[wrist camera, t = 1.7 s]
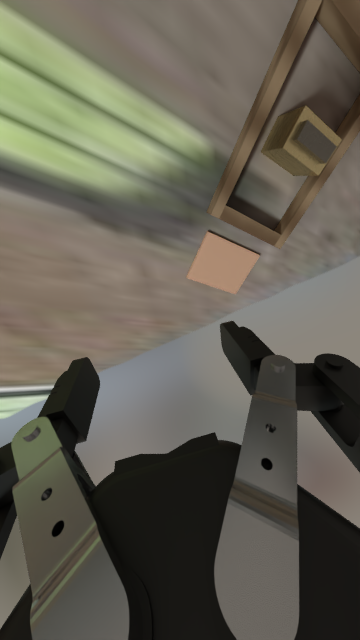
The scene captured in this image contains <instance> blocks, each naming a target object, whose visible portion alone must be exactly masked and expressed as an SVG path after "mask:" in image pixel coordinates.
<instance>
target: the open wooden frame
mask: <svg viewBox="0 0 360 640" xmlns="http://www.w3.org/2000/svg"><path fill="white" fill-rule="evenodd" d="M314 17H315V18H316V19H317V20H318V22H319V23H320V24H321V25H322V27H323V28H324V29H325V30H326V32H327V33H328V34H329V35H330V37H331V38H332V39H333V40H334V42H335V43H336V44H337V45H338V47H339V48H340V49H341V50H342V51H343V53H344V54H345V55H346V56H347V58H348V59H349V60H350V61H351V63H352V64H353V65H354V66H355V68H356V69H357V70H358V71H359V73H360V0H298V2H297V5H296V7H295V9H294V11H293V14H292V16H291V18H290V21H289V23H288V25H287V28H286V30H285V32H284V35H283V37H282V39H281V41H280V44H279V46H278V48H277V51H276V53H275V55H274V58H273V60H272V62H271V64H270V67H269V69H268V71H267V74H266V76H265V78H264V81H263V83H262V85H261V88H260V90H259V92H258V94H257V97H256V99H255V101H254V104H253V106H252V108H251V111H250V113H249V115H248V118H247V120H246V122H245V124H244V127H243V129H242V131H241V134H240V136H239V138H238V141H237V143H236V145H235V147H234V150H233V152H232V154H231V157H230V159H229V161H228V164H227V166H226V168H225V171H224V173H223V175H222V177H221V180H220V182H219V184H218V187H217V189H216V191H215V194H214V196H213V198H212V201H211V203H210V205H209V207H208V210H207V213H209V214H211V215H213V216H215V217H217V218H219V219H221V220H223V221H225V222H227V223H229V224H231V225H233V226H235V227H237V228H239V229H241V230H243V231H245V232H247V233H249V234H251V235H253V236H255V237H257V238H259V239H261V240H263V241H265V242H267V243H269V244H271V245H273V246H275V247H277V248H279V249H281V247H282V246H283V244H284V243H285V241H286V240H287V238H288V237H289V235H290V234H291V232H292V231H293V229H294V228H295V226H296V225H297V223H298V222H299V220H300V219H301V217H302V216H303V214H304V213H305V211H306V210H307V208H308V207H309V205H310V204H311V203H312V201H313V200H314V198H315V197H316V195H317V194H318V192H319V191H320V189H321V188H322V186H323V185H324V183H325V182H326V180H327V179H328V177H329V176H330V174H331V173H332V171H333V170H334V168H335V167H336V165H337V164H338V162H339V161H340V159H341V158H342V156H343V155H344V153H345V152H346V151H347V149H348V148H349V146H350V145H351V143H352V142H353V140H354V139H355V137H356V136H357V134H358V133H359V131H360V94H359V96H358V98H357V99H356V101H355V102H354V104H353V106H352V107H351V109H350V110H349V112H348V114H347V115H346V117H345V118H344V120H343V122H342V123H341V125H340V126H339V128H338V129H337V131H336V133H335V134H336V135H337V136H338V137H340V138H341V139H342V140H341V142H340V144H339V145H338V147H337V148H336V150H335V151H334V153H333V154H332V156H331V157H330V159H329V160H328V162H327V164H326V165H325V167H324V168H323V170H322V171H321V173H320V174H319V176H308V177H307V179H306V181H305V182H304V184H303V185H302V187H301V189H300V190H299V192H298V193H297V195H296V197H295V198H294V200H293V201H292V203H291V205H290V206H289V208H288V209H287V211H286V212H285V214H284V216H283V217H282V219H281V220H280V222H279V224H278V225H277V227H276V228H275V230H274V231H273V230H271V229H269V228H267V227H265V226H263V225H262V224H260V223H258V222H256V221H254V220H252V219H250V218H249V217H247V216H245V215H243V214H241V213H239V212H237V211H236V210H234V209H232V208H230V207H228V206H226V203H227V201H228V199H229V197H230V195H231V193H232V190H233V188H234V186H235V184H236V182H237V180H238V178H239V176H240V173H241V171H242V169H243V167H244V165H245V163H246V161H247V159H248V157H249V154H250V152H251V150H252V148H253V146H254V144H255V142H256V140H257V137H258V135H259V133H260V131H261V129H262V127H263V125H264V123H265V121H266V118H267V116H268V114H269V112H270V110H271V108H272V106H273V104H274V101H275V99H276V97H277V95H278V93H279V91H280V89H281V87H282V85H283V82H284V80H285V78H286V76H287V74H288V72H289V70H290V68H291V65H292V63H293V61H294V59H295V57H296V55H297V53H298V51H299V49H300V46H301V44H302V42H303V40H304V38H305V36H306V34H307V32H308V29H309V27H310V25H311V23H312V21H313V19H314Z"/></svg>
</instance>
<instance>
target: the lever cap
mask: <svg viewBox="0 0 360 640" xmlns="http://www.w3.org/2000/svg"><path fill="white" fill-rule="evenodd" d="M341 140H342V139H341V138H340V137H338V136H337V135H336V134H335V133H334V132H333V131H332V130H331V129H330V128H329V127H328V126H327V125H326V124H325V123H324V122H323V121H322V120H321V119H320V118H319V117H317V116H316V115H315V114H314V113H313V112H312V111H311V110H310V109H309V108H308V107H307V106H306V105H305V106H303V107H300V108H298V109H295V110H293V111H291V112H288V113H286V114H283V115H281V116H278V118H277V120H276V122H275V124H274V126H273V128H272V130H271V132H270V134H269V136H268V138H267V140H266V142H265V144H264V146H263V148H262V150H261V153H263V154H264V155H265V156H267V157H268V158H270V159H271V160H272V161H274V162H275V163H277V164H278V165H279V166H281V167H282V168H283V169H285V170H286V171H288V172H289V173H290V174H292V175H293V176H319V174H320V173H321V171H322V170H323V168H324V167H325V165H326V164H327V162H328V160H329V159H330V157H331V156H332V154H333V153H334V151H335V150H336V148H337V147H338V145H339V144H340V142H341Z"/></svg>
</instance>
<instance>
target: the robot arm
mask: <svg viewBox="0 0 360 640" xmlns="http://www.w3.org/2000/svg"><path fill="white" fill-rule="evenodd" d="M220 332H221V341H222V342H221V343H222V348H223V351H224V354H225V355H226V357H227V358H228V360H229V362H230V363H231V365H232V367H233V368H234V370H235V371H236V373H237V375H238V376H239V378H240V379H241V381H242V383H243V384H244V386H245V388H246V389H247V391H248V392H249V394H250V395H253V396H252V400H251V405H250V409H249V414H248V419H247V423H246V428H245V432H244V437H243V442H242V445H239V444H237V443H234V442H230V441H224V440H217V437H216V434H215V433H211V434H208V435H204V436H201V437H197V438H194V439H191V440H189V441H187V442H186V443H184V444H182V445H181V446H179V447H178V448H176V449H174V450H173V451H171V452H169V453H167V454H139V455H135V456H132V457H129V458H125V459H122V460H118V461H115V469H114V472H112V473H111V474H110V475H108V476H107V477H106V478H104V479H103V480H102V481H101V482H100V483H99V484H98V485H97V486H95V484H94V483H93V481H92V480H91V478H90V476H89V474H88V473H87V471H86V469H85V467H84V465H83V464H82V462H81V460H80V458H79V457H78V455H77V453H76V452H75V446H76V444H77V443H81V442H84V441H86V439H87V435H88V431H89V427H90V423H91V419H92V415H93V411H94V407H95V403H96V399H97V395H98V391H99V388H100V380H99V376H98V374H97V373H96V371H95V369H94V367H93V365H92V363H91V361H90V359H89V358H87V357H85V358H81V359H77V360H73V361H72V363H71V365H70V367H69V369H68V371H65V372H64V373H63V374H62V375H61V376H60V377H59V378H58V380H57V381H56V383H55V385H54V388H53V389H52V391H51V393H50V395H49V397H48V399H47V400H46V402H45V404H44V406H43V408H42V410H41V412H40V414H39V416H38V417H37V418H36V419H34V420H32V421H30V422H29V423H27V424H26V425H24V426H23V427H22V428H21V429H20V430H19V431H18V432H17V433H16V435H15V436H14V438H13V440H12V442H10V443H8V444H7V445H5V446H3V447H1V448H0V558H1V556H2V553H3V551H4V548H5V545H6V543H7V540H8V538H9V535H10V532H11V530H12V527H13V524H14V522H15V519H16V516H17V517H18V522H19V528H20V532H21V537H22V543H23V548H24V553H25V559H26V564H27V569H28V574H29V579H30V585H29V587H28V588H27V590H26V591H25V593H24V594H23V596H22V597H21V599H20V600H19V602H18V603H17V605H16V606H15V608H14V609H13V611H12V612H11V614H10V616H9V617H8V618H7V620H6V622H5V623H4V624H3V626H2V628H1V629H0V640H360V528H358V527H357V526H356V525H354V524H353V523H351V522H350V521H349V520H347V519H346V518H344V517H343V516H342V515H340V514H339V513H337V512H336V511H334V510H333V509H332V508H330V507H329V506H327V505H326V504H325V503H323V502H322V501H321V500H319V499H318V498H316V497H315V496H314V495H312V494H311V493H309V492H308V491H306V490H305V489H304V488H302V487H301V486H299V485H298V484H297V410H302V411H311V412H312V414H313V415H314V416H315V417H316V418H317V420H318V421H319V422H320V423H321V425H322V426H323V427H324V428H325V430H326V431H327V432H328V433H329V435H330V436H331V437H332V438H333V440H334V441H335V442H336V443H337V445H338V446H339V447H340V448H341V450H342V451H343V452H344V453H345V455H346V456H347V457H348V458H349V460H350V461H351V462H352V463H353V465H354V466H355V467H356V468H357V470H358V471H359V472H360V368H359V367H358V366H356V365H355V364H354V363H352V362H351V361H350V360H348V359H346V358H344V357H342V356H339V355H335V354H321V355H318V356H317V357H316V358H315V360H314V363H303V364H302V363H300V364H296V363H293V362H292V361H291V360H290V359H288V358H287V357H284V356H280V355H275V354H274V353H273V352H272V351H271V350H270V349H269V348H268V347H267V346H266V345H265V344H264V343H263V342H262V341H261V340H260V339H259V338H258V337H257V336H256V335H255V334H254V333H253V332H252V331H251V330H250V329H248V328H245V327H238V326H237V325H236V324H235V322H234V321H230V322H226V323H222V324H220Z"/></svg>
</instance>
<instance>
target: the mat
mask: <svg viewBox="0 0 360 640" xmlns="http://www.w3.org/2000/svg"><path fill="white" fill-rule="evenodd" d="M259 256H260V255H258V254H256V253H254V252H252V251H250V250H247V249H245V248H243V247H241V246H239V245H236V244H234V243H232V242H230V241H228V240H226V239H223V238H221V237H219V236H217V235H215V234H212V233H210V232H208V231H207V233H206V235H205V237H204V239H203V241H202V244H201V246H200V248H199V250H198V252H197V254H196V257H195V259H194V261H193V263H192V265H191V268H190V270H189V272H188V274H187V276H186V278H188V279H191V280H194V281H197V282H200V283H203V284H206V285H209V286H212V287H215V288H218V289H221V290H224V291H227V292H230V293H233V294H236V293H237V291H238V290H239V288H240V286H241V285H242V283H243V282H244V280H245V279H246V277H247V275H248V274H249V272H250V271H251V269H252V267H253V266H254V264H255V263H256V261H257V259H258V258H259Z"/></svg>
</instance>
